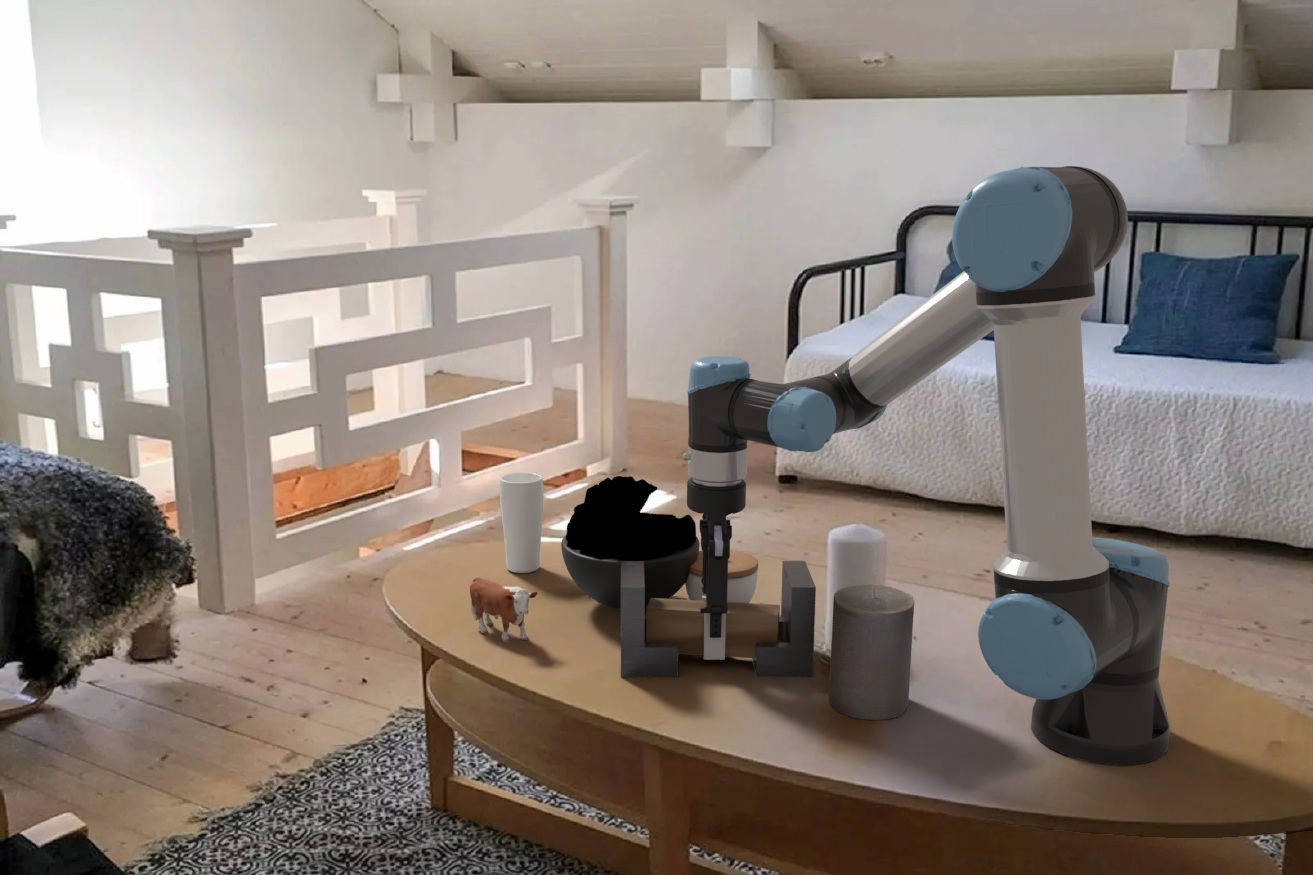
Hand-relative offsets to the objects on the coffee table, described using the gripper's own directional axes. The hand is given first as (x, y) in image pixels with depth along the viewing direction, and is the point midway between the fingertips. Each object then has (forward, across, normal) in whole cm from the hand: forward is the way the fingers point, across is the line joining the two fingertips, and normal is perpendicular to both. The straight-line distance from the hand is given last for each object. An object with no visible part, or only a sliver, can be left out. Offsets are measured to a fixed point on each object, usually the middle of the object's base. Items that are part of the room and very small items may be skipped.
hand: (712, 650), depth 173 cm
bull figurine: (+2, -9, -28) cm, 30 cm away
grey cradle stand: (+1, 0, 0) cm, 1 cm away
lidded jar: (+2, -18, +2) cm, 19 cm away
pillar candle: (+1, +14, +18) cm, 23 cm away
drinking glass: (+2, -37, -28) cm, 47 cm away
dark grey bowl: (+2, -20, -11) cm, 23 cm away
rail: (0, 0, 0) cm, 0 cm away
